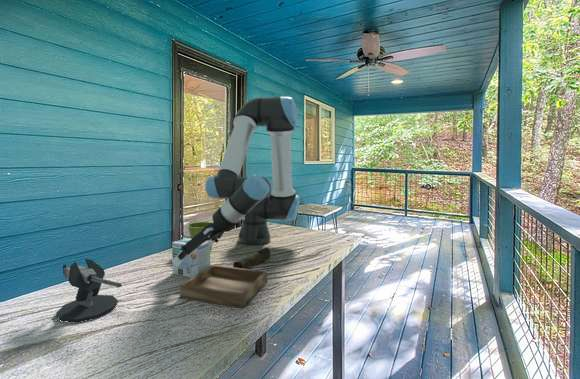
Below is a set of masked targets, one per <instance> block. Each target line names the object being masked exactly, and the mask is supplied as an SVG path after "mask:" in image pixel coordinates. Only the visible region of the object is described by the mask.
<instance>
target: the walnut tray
mask: <svg viewBox="0 0 580 379" xmlns="http://www.w3.org/2000/svg"><path fill="white" fill-rule="evenodd" d="M267 284H268V270H267V271H266V270H257V269H250V268H247V269H243V268H235V267H233V266H226V265H217V264H210V267H208V268H207V269H205V270H204V271H202V272H200V273H199V274H197V275H196V276H194V277H192V278H190V279H188V280H187V281H185V282H183V283H181V284H180V285H179V298H180V299H184V300H191V301H196V302H203V303H209V304H215V305H220V306H226V307H227V306H228V307H234V308H239V309H245V308H246V307H247V306H248V305H249V303H251V302H252V300H253V299H254V298H255V297H256V296H257V294H259V292H261V290H262V289H263V288H264V287H265V286H266V285H267Z"/></svg>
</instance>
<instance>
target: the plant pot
mask: <svg viewBox="0 0 580 379" xmlns="http://www.w3.org/2000/svg"><path fill="white" fill-rule="evenodd" d="M211 223H212V224H213V221H198V222H197V221H196V222H191V223H188V224H186V227H187V228H188V233H189V236H190V237H189V238H190V239H192V238H193V237H195V236H196V235H197V234H198V233H199V232H201V231H202V230H203V229H204V227H206V226H207V227H208V225H210V224H211ZM208 237H209V236H208ZM212 248H213V244H212V245H211V246H210V252H211V251H212Z"/></svg>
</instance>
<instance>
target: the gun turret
mask: <svg viewBox="0 0 580 379" xmlns="http://www.w3.org/2000/svg"><path fill="white" fill-rule="evenodd" d="M85 264H86V265H87V267H85V266H82V265H78V264H77V262H76V261H74V262H73V263H72V264H70V266H67V264H63V265H62V269H63V270H62V273H63V275H64V279H68V280H67V281H68V283H69V284H70V285H71V287H75V288H78V289H77V292H76V295H75V300H72V301H71V302H67V303H66V304H64V305H62V307H61V308H59V309H58V310H57V311H56V312H55V314H56V315H57V316H58V317H59V319H60V320H61V321H68V322H80V323H82V322H81V321H85V320H89V321H91V320H90V319H94V320H96V319H95V318H98V319H99V317H100V318H102V317H103V316H106V315H108V314H109V312H110V313H112V312H113V311H114V310H115V309H116V307H117V306H116V305H118V304H119V299H117V298H116V296H114V295H109V294H99V292H100V289H101V287H102V284H103V285H106V286H107V285H108V286H111V287H116V288H121V287H123V284H122V283H121V282H118V281H113V280H109V279H104V277H105V275H106V273H105V272H106V271H105V269H104V268H102V266H100V265H99V264H98V263H97V262H95V261H94V260H93V259H89V258H85ZM117 303H118V304H117ZM115 306H116V307H115ZM114 308H115V309H114ZM113 309H114V310H113ZM112 310H113V311H112ZM111 311H112V312H111ZM107 313H108V314H107ZM105 314H106V315H105ZM57 316H56V317H57ZM101 316H102V317H101ZM59 319H58V320H59ZM60 320H59V321H60ZM85 322H86V321H85Z"/></svg>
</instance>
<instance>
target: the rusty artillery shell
mask: <svg viewBox="0 0 580 379" xmlns="http://www.w3.org/2000/svg"><path fill="white" fill-rule="evenodd" d="M270 258H271V250H270V248H269V247H264V248H262V249H259V250H258V252H257V253H255V254H252V255H250V256H248V257H244V258H243V259H239V260H238V261H234V262H233V264H232V267H235V268H243V269H250V268H251V267H253V266H255V265H257V264H258V263H266V261H268V260H269V259H270Z"/></svg>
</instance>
